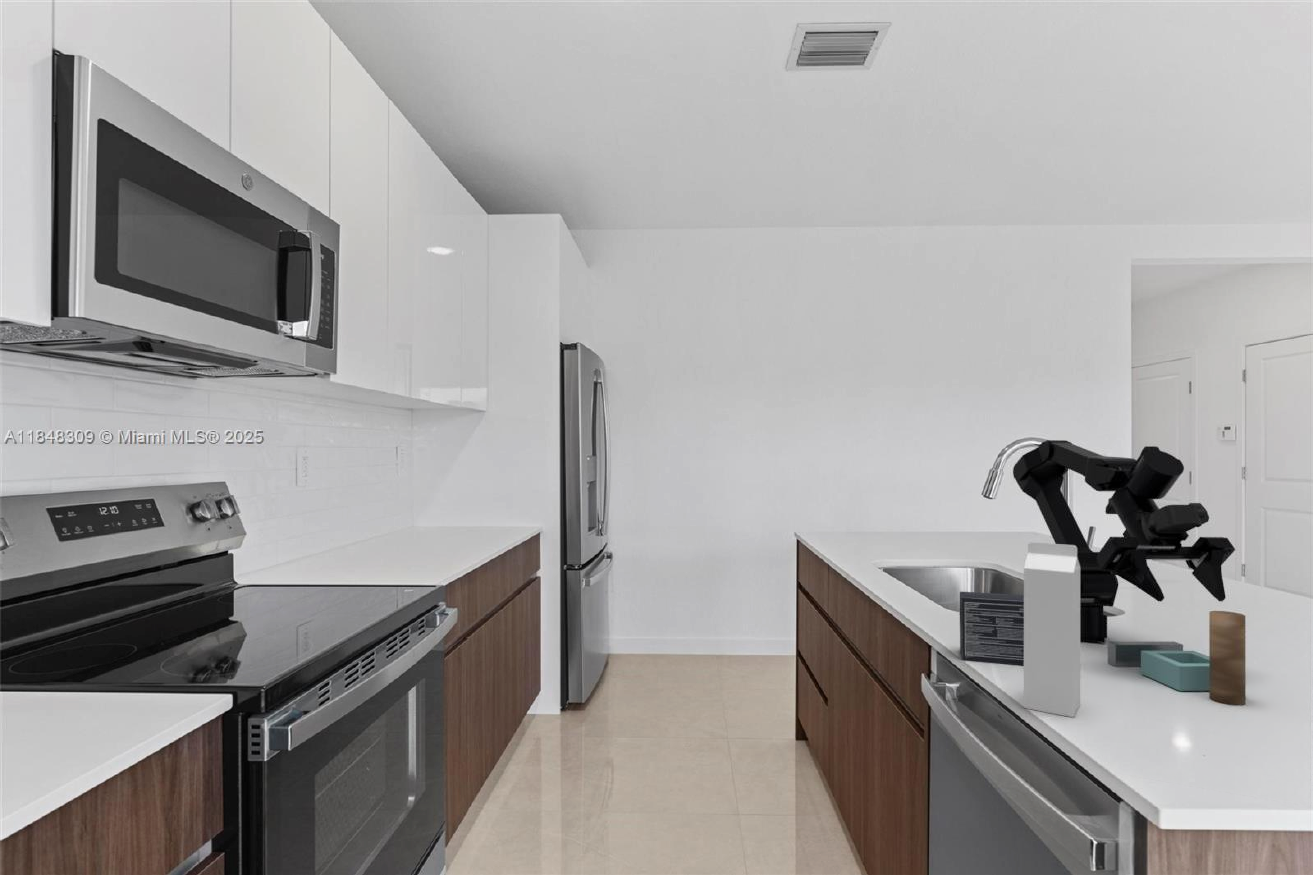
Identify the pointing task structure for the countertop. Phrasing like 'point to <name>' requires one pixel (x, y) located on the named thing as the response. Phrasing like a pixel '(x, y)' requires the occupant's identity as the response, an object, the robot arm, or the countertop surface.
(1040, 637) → the milk
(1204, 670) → the teal square frame
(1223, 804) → the countertop surface
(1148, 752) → the countertop surface
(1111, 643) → the bar
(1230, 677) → the dowel
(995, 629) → the small box
